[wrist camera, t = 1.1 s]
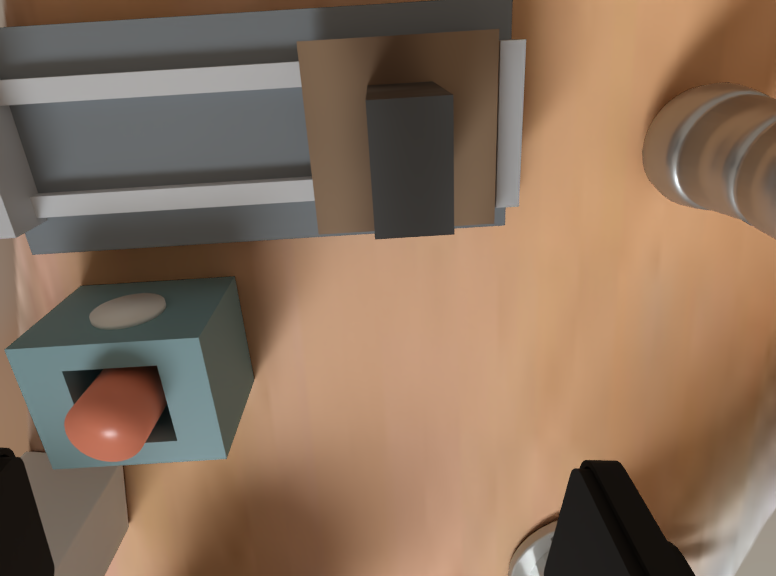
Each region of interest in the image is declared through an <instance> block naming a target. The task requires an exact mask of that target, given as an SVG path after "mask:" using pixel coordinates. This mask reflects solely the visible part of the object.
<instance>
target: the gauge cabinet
mask: <svg viewBox="0 0 776 576" xmlns="http://www.w3.org/2000/svg"><path fill="white" fill-rule="evenodd" d="M5 352H6V355H7V357H8V360H9V362H10V365H11V367H12V370H13V372H14V375H15V377H16V380H17V382H18V385H19V387H20V390H21V392H22V395H23V397H24V399H25V402H26V404H27V407H28V409H29V412H30V414H31V417H32V419H33V422H34V424H35V427H36V429H37V432H38V434H39V436H40V439H41V441H42V444H43V446H44V449H45V451H46V454H47V456H48V459H49V461H50V464H51V466H52V469H53V470H56V469H72V468H88V467H104V466H120V465H136V464H152V463H168V462H184V461H200V460H216V459H227V456H228V453H229V451H230V448H231V445H232V442H233V439H234V436H235V434H236V431H237V428H238V425H239V422H240V419H241V416H242V414H243V411H244V408H245V405H246V402H247V399H248V397H249V394H250V391H251V388H252V385H253V382H254V376H253V370H252V365H251V360H250V354H249V349H248V344H247V339H246V333H245V328H244V323H243V317H242V312H241V307H240V302H239V296H238V291H237V286H236V280H235V276H233V277H217V278H201V279H185V280H169V281H153V282H137V283H121V284H105V285H89V286H80V287H79V288H78V289H77V290H75V291H74V292H73V293H72V294H71V295H69V296H68V297H67V298H66V299H65V300H63V301H62V302H61V303H60V304H59V305H57V306H56V307H55V308H54V309H53V310H51V311H50V312H49V313H48V314H47V315H45V316H44V317H43V318H42V319H41V320H39V321H38V322H37V323H36V324H35V325H33V326H32V327H31V328H30V329H29V330H27V331H26V332H25V333H24V334H23V335H21V336H20V337H19V338H18V339H17V340H16V341H14V342H13V343H12V344H11V345H10V346H8V347H7V348H6V349H5ZM156 365H157V368H158V371H159V375H160V379H161V382H162V386H163V390H164V393H165V397H166V401H167V405H166V407H165V409H164V410H163V412H162V414H161V416H160V417H159V419H158V421H157V423H156V424H155V426H154V428H153V430H152V432H151V433H150V435H149V437H148V439H147V440H146V442H145V444H144V446H143V447H142V449H141V450H140V451H139V452H138V453H137V454H136V455H135V456H133V457H132V458H130V459H127V460H124V461H118V462H107V461H101V460H97V459H94V458H91V457H89V456H87V455H85V454H84V453H82V452H80V451H79V450H78V449H77V448H76V447H75V446H74V445H73V444H72V443H71V442H70V440H69V439H68V437H67V435H66V432H65V427H64V422H65V417H66V415H67V413H68V412H69V410H70V409H71V408H72V407H73V405H74V404H75V403H76V402H77V400H78V399H79V398H80V397H81V396H82V394H83V393H84V392H85V391H86V390H87V388H88V387H89V386H90V385H91V384H92V382H93V381H94V380H95V379H96V377H97V376H98V375H99V374H100V373H101V371H102V370H103V369H108V368H124V367H140V366H156Z"/></svg>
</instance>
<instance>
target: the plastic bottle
mask: <svg viewBox="0 0 776 576" xmlns="http://www.w3.org/2000/svg"><path fill="white" fill-rule="evenodd" d="M642 158H643V166H644V170H645V173H646V175H647V177H648V179H649V181H650V182H651V183H652V184H653V185H654V187H655V188H656V189H657V190H658V191H659V192H660V193H661V194H662V195H663V196H665V197H666V198H667V199H669V200H670V201H672V202H675V203H677V204H680V205H683V206H687V207H691V208H696V209H703V210H712V211H715V212H718V213H721V214H725V215H728V216H731V217H734V218H737V219H740V220H742V221H744V222H746V223H747V224H749V225H751V226H754V227H755V228H757V229H758V230H760V231H762V232H763V233H765V234H767V235H769V236H771V237H772V238H774V239H776V99H774V98H771V97H769V96H767V95H765V94H764V93H761V92H759V91H757V90H755V89H752V88H749V87H746V86H743V85H740V84H735V83H730V82H725V83H714V84H709V85H703V86H699V87H695V88H692V89H689V90H687V91H685V92H683V93H681V94H679V95H678V96H676V97H675V98H673V99H672V100H671V101H669V102H668V103H667V104H666V105H665V106H664V107H663V108H662V109H661V110H660V112H659V113H658V114H657V116H656V117H655V118H654V120H653V121H652V123H651V125H650V127H649V129H648V131H647V134H646V137H645V140H644V145H643V151H642Z"/></svg>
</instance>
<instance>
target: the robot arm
mask: <svg viewBox="0 0 776 576" xmlns="http://www.w3.org/2000/svg"><path fill="white" fill-rule="evenodd" d="M54 571H55V567H54V562H53V559H52V555H51V552H50V549H49V545H48V542H47V539H46V535H45V532H44V528H43V525H42V522H41V518H40V515H39V512H38V508H37V505H36V502H35V498H34V495H33V491H32V488H31V485H30V481H29V478H28V475H27V471H26V468H25V464H24V462H23V460H22V459H21V458H20V457H15V455H14V453H13V451H12V450H11V449H9V448H0V576H54ZM508 576H695V574H694V573H693V571H692V569H691V568H690V566H689V564H688V563H687V561H686V559H685V558H684V556H683V555H682V553H681V552H680V551H679V549H678V548H677V547H676V546H675V545H673V544H672V543H671V542H668V541H667V540H666V538H665V536H664V535H663V533H662V531H661V530H660V528H659V526H658V525H657V523H656V521H655V519H654V518H653V516H652V514H651V513H650V511H649V509H648V508H647V506H646V504H645V502H644V501H643V499H642V497H641V496H640V494H639V492H638V490H637V489H636V487H635V485H634V484H633V482H632V480H631V479H630V477H629V475H628V473H627V472H626V470H625V468H624V467H623V466H622V464H621V463H620V462H618V461H602V460H584V461H583V462H582V464H581V466H580V469H577V468H576V469H573V470H572V472H571V474H570V478H569V482H568V485H567V489H566V492H565V496H564V500H563V503H562V507H561V510H560V514H559V518H558V520H557V521H555V522H552V523H550V524H548V525H546V526H544V527H542V528H540V529H539V530H537V531H536V532H534V533H533V534H532V535H530V536H529V537H528V538H527V539H526V540H525V541H524V542H523V543H522V544H521V545H520V546H519V547H518V549H517V550H516V552H515V553H514V555H513V557H512V559H511V562H510V564H509V572H508Z"/></svg>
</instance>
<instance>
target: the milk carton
mask: <svg viewBox="0 0 776 576" xmlns="http://www.w3.org/2000/svg"><path fill="white" fill-rule="evenodd" d="M20 458H21V459H22V460H23V462H24V464H25V468H26V471H27V475H28V478H29V481H30V485H31V488H32V491H33V495H34V498H35V502H36V505H37V508H38V512H39V515H40V518H41V522H42V525H43V528H44V532H45V535H46V539H47V542H48V545H49V549H50V552H51V555H52V559H53V562H54V567H55V571H54V576H105V574H106V572H107V570H108V568H109V566H110V564H111V562H112V560H113V558H114V556H115V554H116V552H117V550H118V548H119V546H120V544H121V542H122V540H123V538H124V536H125V534H126V532H127V530H128V527H129V524H128V514H127V504H126V494H125V484H124V474H123V465H120V466H104V467H88V468H72V469H56V470H53V469H52V466H51V464H50V461H49V459H48V456H47V454H46V453H42V452H25V453H24V454H23V455H22V456H21V457H20Z"/></svg>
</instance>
